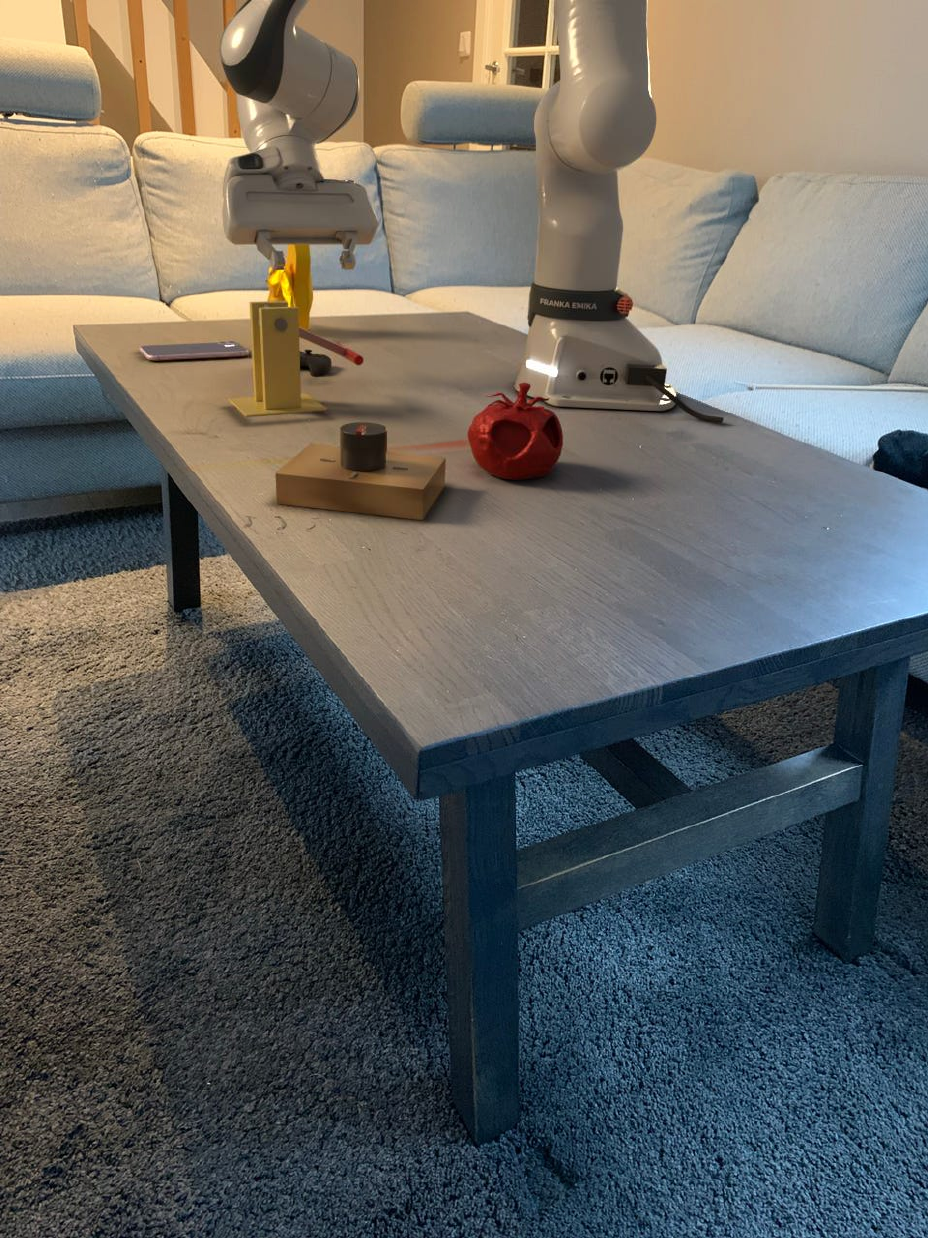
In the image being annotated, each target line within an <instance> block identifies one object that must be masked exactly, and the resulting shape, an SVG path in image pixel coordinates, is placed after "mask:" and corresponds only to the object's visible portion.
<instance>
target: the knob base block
mask: <svg viewBox="0 0 928 1238" xmlns="http://www.w3.org/2000/svg"><path fill="white" fill-rule="evenodd" d="M446 460H447V458H446V457H445V456H438V455H437V456H435V455H426V454H417V453H407V452H397V451H388V450H387V465H386V467H384V468H383V469H380V470H375V471H354V470H350V469H346V468H344V467H342V466H341V462H340V445H330V444H323V443H322V444H321V443H311V442H310V443H309V444H308V445H307V446H305V448H303V449H302V450H301V451H300V452H299V453H297V454H296V455H295V456H294V457H293V458H292V459H290V460H289V461H287V463H285V464H284V465H283V466H282V467H281V468H280V469H278V470H277V471H276V472H275V491H276V492H275V495H276V504H277V505H285V506H294V507H302V508H312V509H320V510H329V511H337V512H338V511H339V512H347V513H354V514H355V513H356V514H365V515H374V516H381V517H382V516H383V517H392V518H401V519H409V520H416V521H417V520H418V521H423V520H424V519H425V517H426V516H427V514H428V512H429V511H430V509H432V506H433V505H434V503H435V502H436V500H437V498H438V497H439V496H440V494H441V492H442V491H443V489H444V488H445V485H446V462H447V461H446Z"/></svg>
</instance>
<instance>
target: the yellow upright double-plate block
mask: <svg viewBox="0 0 928 1238" xmlns="http://www.w3.org/2000/svg"><path fill="white" fill-rule="evenodd" d="M265 305H267V306H269V307H264V306H265ZM249 316H250V317H249V318H250V319H249V320H250V339H251V360H252V379H253V380H252V381H253V396H245V397H231V398H230V397H229V398H228V402H230V404H232V406H234V407H235V408H236V409H237V410H238V411H239V412H240V413H241V414H242V415H243V416H244V417H245V418H248V417H263V416H276V415H289V414H301V413H314V412H328V408H327V407H325V406H324V405H323V404H321V403H320V402H319V401H317V400H316V398H313V397H312V396H311V395H309V394H308V393H305V392H303V393H302V391H301V390H302V388H301V385H302V384H301V367H300V351H301V350H300V337H299V313H298V308H297V307H288V302H286V301H267V300H266V301H249ZM259 320H260V325H258V321H259Z"/></svg>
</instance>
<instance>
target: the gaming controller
mask: <svg viewBox="0 0 928 1238" xmlns="http://www.w3.org/2000/svg"><path fill="white" fill-rule="evenodd" d="M312 352H313V350H312V349H304V351H301V350H300V368H306V369H309V374H310V376H311V377H313V378H321V377H324V376H326V375H327V374H329V371H331V369H332V362H333V361H332V359H331V358H330V356H328V355H326V354H323V353H312Z"/></svg>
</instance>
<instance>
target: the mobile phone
mask: <svg viewBox="0 0 928 1238" xmlns="http://www.w3.org/2000/svg"><path fill="white" fill-rule="evenodd" d="M139 352H140V353H141V354H142V355H143V356H144V357H145V359H147V360H148V361H152V362H156V361H157V362H160V361H176V360H177V361H179V360H197V359H199V360H200V359H216V358H218V359H219V358H236V357H237V358H238V357H247V356H249V353H250V351H249V350H248V348H245V346H243V345H242V344H240V343H239V342H237V341H232V340H229V341H218V342H197V343H195V342H194V343H176V344H175V343H174V344H149V345H142V346H140V347H139Z"/></svg>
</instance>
